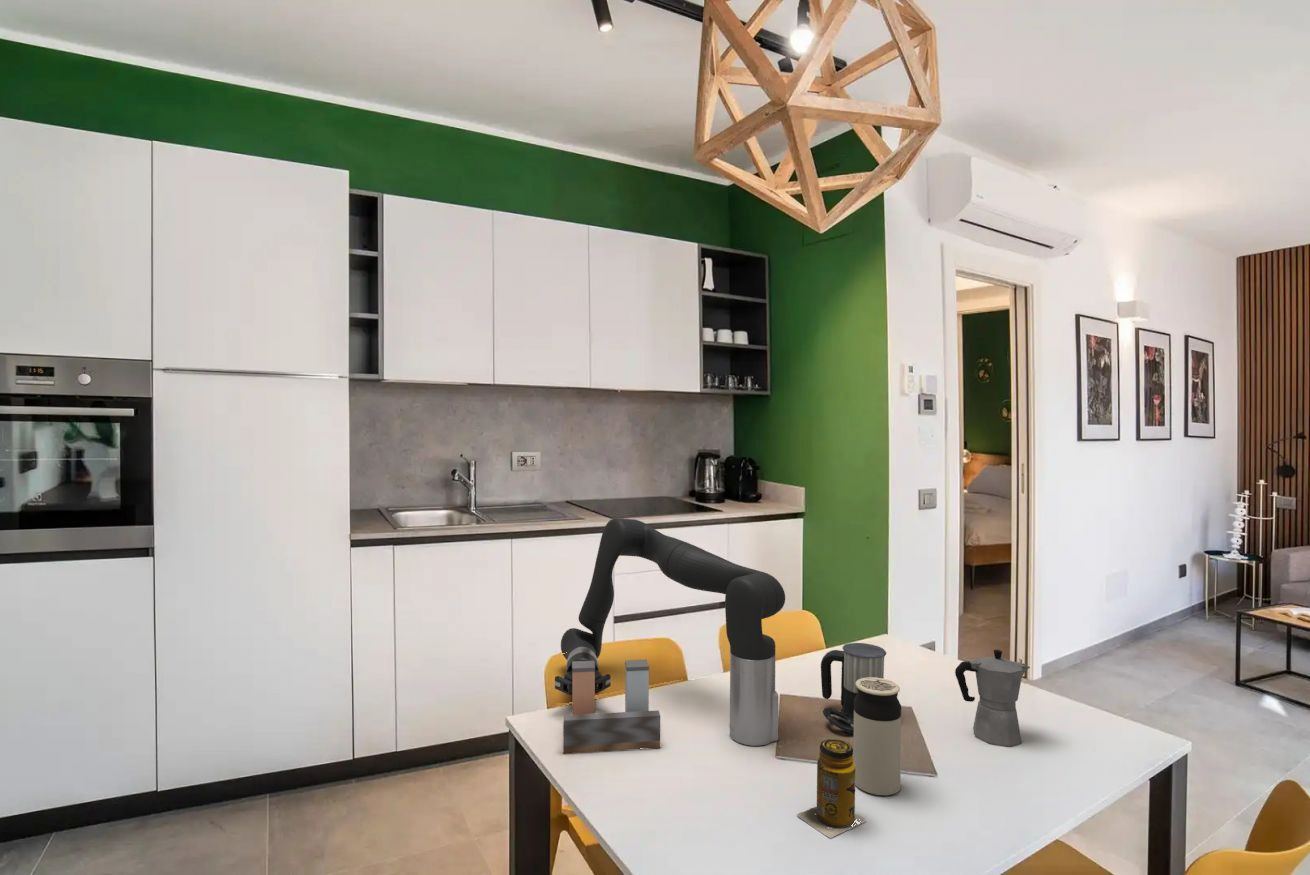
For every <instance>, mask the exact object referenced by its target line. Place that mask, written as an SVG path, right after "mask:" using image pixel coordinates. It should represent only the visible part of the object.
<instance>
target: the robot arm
mask: <svg viewBox="0 0 1310 875" xmlns="http://www.w3.org/2000/svg"><path fill="white" fill-rule="evenodd" d="M621 556H624V557H637V558H638V557H639V558H641V559H646V560H648V561H651V562H653V563H654V564H656V565H657V566H658V568H659V570H660V571H661V573H662V574H664V576H666V577H667V578H668V579H670V580H672V581H674V582H676V583H678V584H680V585H682V586H684V587H687V588H690V589H692V590H697V591H703V592H709V593H716V594H723V595H725V598H724V600H725V601H724V608H725V609H724V610H725V611H724V613H725V632H726V637H727V640H728V643H729V649H730V650H729V657H730V659H729V736H730V738H731V739H732V740H733V741H735V742H737V743H739V744H741V745H746V746H754V747H755V746H756V747H757V746H765V745H768V744H771V743H772V742H778V741H779V693H778V692H777V691H776V641H775V640H774V639H773V638H772V637H771V636H769V635H767V634H763V623H762V620H764V619H766V618H767V619H768V618H771V617H773V616H774V615H777V613H779V612H780V611H781V610H782V609H783V608H784V606H785V603H786V594H785V593H786V592H785V590H784V587H783V586H782V584H781V583H780V581H778V579H777V578H776V577H775V576H773V575H772V574H770V573H767V572H764V571H760V570H757V569H754V568H751V567H747V566H743V565H739V564H737V563H734V562H732V561H729V560H727V559H725V558H723V557H721V556H719V555H716V554H714V553H712V552H709V551H708V550H705V549H703V548H701V547H699V546H696V545H695V544H691V543H690V542H687V541H684V540H681V539H680V538H679V539H678V538H676V537H672V536H670V535H665V534H663V533H661V532H660V531H658V530H657V529H656V528H654V527H651V526H650V525H649V524H647V523H645V522H643V521H641V520H638V519H630V518H621V517H620V518H619V517H617V518H616V517H615V518H612V519H610V520H608V522H606V524H605V526H604V529H603V532H602V534H601V537H600V541H599V546H598V550H597V553H596V558H595V564H594V568H593V573H592V577H591V578H592V579H591V582H590V586H589V589H588V592H587V594H586V596H585V599H584V601H583V603H582V606H581V609H580V611H579V614H578V622H579V624H581V625H582V626H583V627H584V628H586V629H587V630H589V631H590V632H588V631H584V630H581V629H579V628H576V627H572V628H568V629H567V630H566V631H565V632H564V633H563V635H562V637H561V639H560V651H561V653H565V654H562V656H563V657H564V658H565V659H566V664H565V673H564V675H563V676H559V675H556V676H554V689H555V690H558V691H559V692H561V693H563V694H566V695H567V696H572V661H594V662H595V695H597V694H600V693H601V692H602V691H604V690H606V689H608V688H609V687H611V685H612V684H611V683H612V681H611V680H612V679H611V674H610V673H606V674H604V675H602V673H601V672H600V670H599V669H600V668H599V661H598V659H599V656H600V655H601V652H602V645H603V644H602V643H603V634H604V628H605V625H606V622H607V619H608V616H609V614H610V611H611V609H612V607H613V604H614V601H615V600H614V597H615V590H614V589H615V588H614V583H613V581H614V580H613V573H614V572H613V571H614V568H615V565H616V563H617V561H618V559H619V558H620V557H621ZM566 652H567V653H566ZM777 740H778V741H777Z"/></svg>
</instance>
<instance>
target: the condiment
mask: <svg viewBox="0 0 1310 875" xmlns="http://www.w3.org/2000/svg"><path fill="white" fill-rule="evenodd" d="M853 752H854V747H853V746H852V745H851V744H850V742H847V741H845V740H841V739H838V738H828V739H824V740H822V741H821V742H820V744H819V757H818V759H817V762H816V768H817V769H816V806H813V807H811V808H808V809H806V810H804V811H801V812H799V813H797V814H796V816H798V817H799V818H800V819H801V820H803V822H805V823H806V824H808V825H809V826H811V827H812V828H814V830H817V831H818V832H820V833H821V834H822V835H825V836H826V837H827V838H829V839H832V838H834V837H836V836H838V835H840V834H843V833H844V832H847V831H849V830H852V829H853V828H855V826H856V827H857V825H858V824H857V823H856V822H855V823H854V821H855V820H856V819H857V821H858V822H860V821H861V822H860V823H862V822H863V823H862V824H864V823H866V821H867V820H866V819H865V818H862V816H859V815H857V814H855V811H856V785H855V764H854V762H853ZM859 819H860V820H859ZM853 823H854V824H853ZM852 824H853V827H852V826H851V825H852ZM855 824H856V825H855ZM854 825H855V826H854ZM858 826H859V825H858ZM828 827H829V828H828ZM849 828H850V829H849Z"/></svg>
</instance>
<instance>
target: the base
mask: <svg viewBox="0 0 1310 875" xmlns="http://www.w3.org/2000/svg"><path fill="white" fill-rule="evenodd" d="M660 713H661V712H660V710H649V711H637V712H625V711H621V712H617V711H616V712H601V713H600V712H597V713H596V712H595V714H576V715H572V714H563V720H562V721H563V725H562V726H563V727H562V728H563V746H562V747H563V754H565V755H566V754H581V753H582V754H583V753H598V752H597V751H603V752H614V751H613V750H621V751H628V750H627V749H639V750H641V749H640V748H656V749H660V748H661V714H660ZM659 747H660V748H659Z"/></svg>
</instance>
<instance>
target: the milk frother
mask: <svg viewBox="0 0 1310 875" xmlns="http://www.w3.org/2000/svg"><path fill="white" fill-rule="evenodd" d="M886 655H887V651H886V650H885V649H884V648H882V647H881V646H879V645H876V644H875V645H874V644H870V643H864V642H849V643H846V644H843V646H842V650H839V649H833V650H829V651H828V652H826V654H824V656H823V657H822V659H821V662H820V680H821V695H822V698H823V699H825V700H829V699H830V698H831V696H832V694H833V687H832V686H833V684H832V664H833V662H841V678H840V680H841V683H840V684H841V685H840V690H841V693H840V694H841V696H840V706H841V707H842V708H841V710H837V709H834V708H831V707H824V708H823V710H822V714H823V716H824V717H825V719H826V720H827V721H828V722H830V724H832V725H833V726H834V727H836V728H838V729H840V731H841V730H842V731H843V733H844V732H847V733H850V734H854V699H855V697H856V695H857V694H858V689H857V687H856V681H857V680H859V679H861V678H866V677H876V678H883V679H885V677H884V674H885V658H886V657H885V656H886Z"/></svg>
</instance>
